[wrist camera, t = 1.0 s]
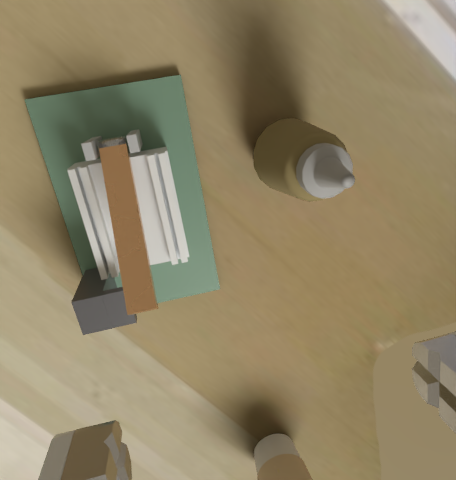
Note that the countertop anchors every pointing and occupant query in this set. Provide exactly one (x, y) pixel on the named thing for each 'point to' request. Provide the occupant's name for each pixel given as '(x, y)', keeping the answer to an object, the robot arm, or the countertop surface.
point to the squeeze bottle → (302, 160)
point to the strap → (127, 226)
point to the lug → (100, 303)
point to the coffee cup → (279, 459)
